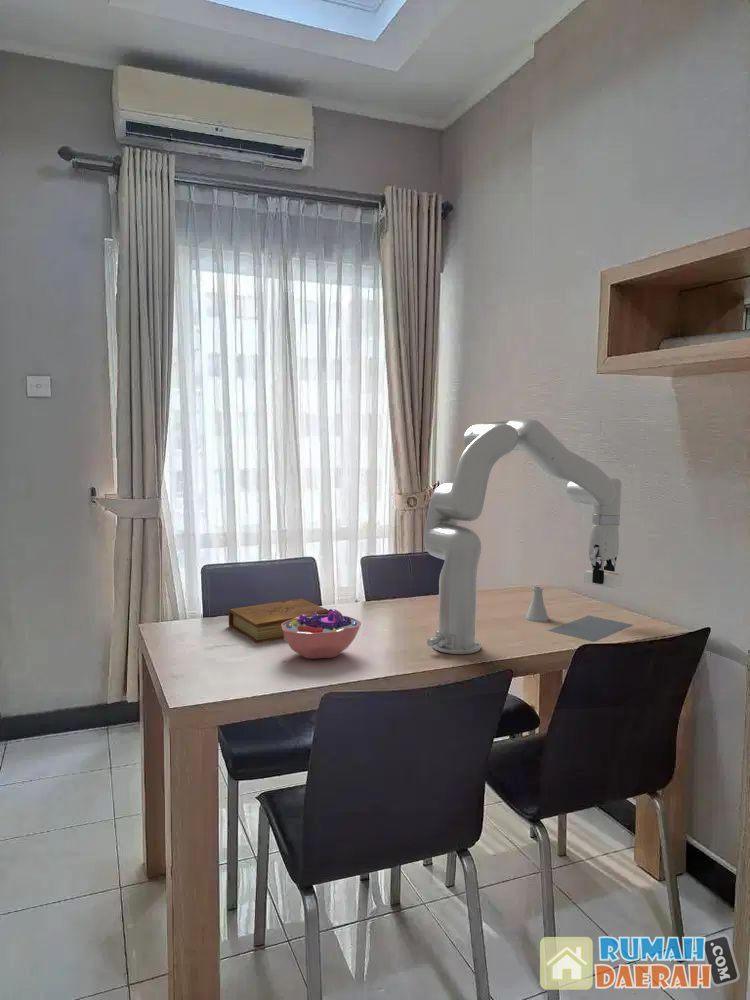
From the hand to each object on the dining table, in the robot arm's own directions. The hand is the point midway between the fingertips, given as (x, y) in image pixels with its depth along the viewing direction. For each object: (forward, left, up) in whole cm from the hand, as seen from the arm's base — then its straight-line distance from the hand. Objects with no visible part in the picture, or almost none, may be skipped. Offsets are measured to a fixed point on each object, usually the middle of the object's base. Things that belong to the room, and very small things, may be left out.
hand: (603, 581), depth 199 cm
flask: (-9, +16, -13) cm, 23 cm away
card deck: (0, 0, -1) cm, 1 cm away
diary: (-71, +61, -14) cm, 94 cm away
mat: (-6, 0, -13) cm, 15 cm away
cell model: (-78, +35, -13) cm, 87 cm away
